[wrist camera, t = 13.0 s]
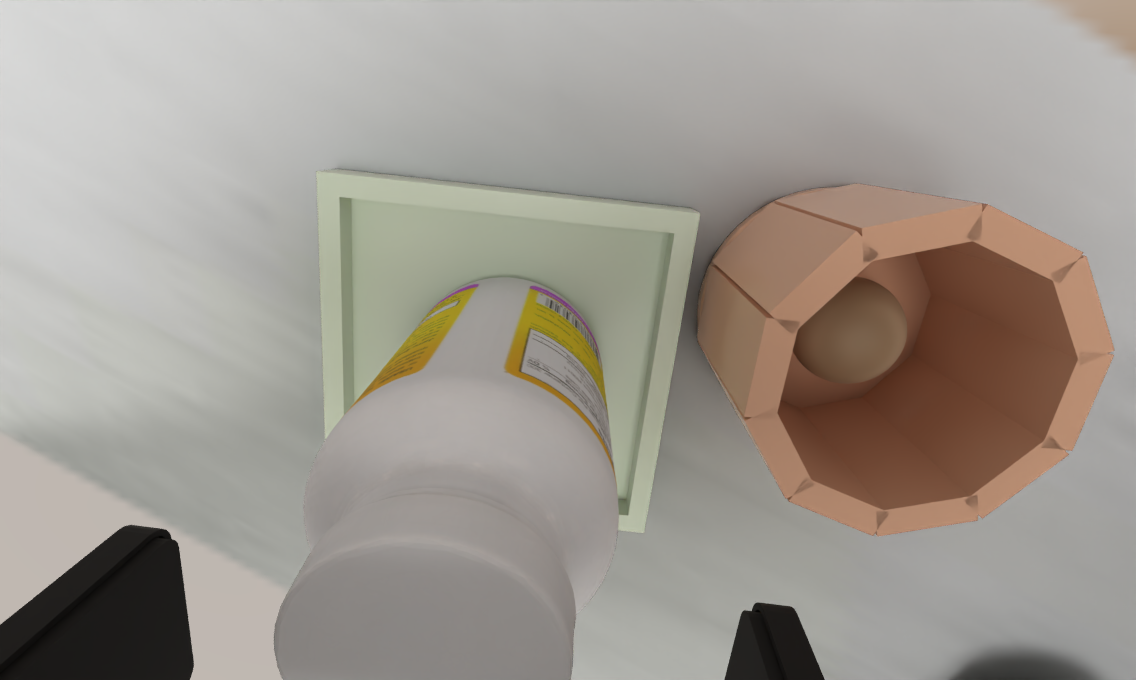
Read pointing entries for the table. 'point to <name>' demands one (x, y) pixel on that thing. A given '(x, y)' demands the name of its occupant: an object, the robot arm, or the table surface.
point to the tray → (517, 250)
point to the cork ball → (853, 334)
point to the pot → (906, 353)
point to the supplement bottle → (460, 502)
